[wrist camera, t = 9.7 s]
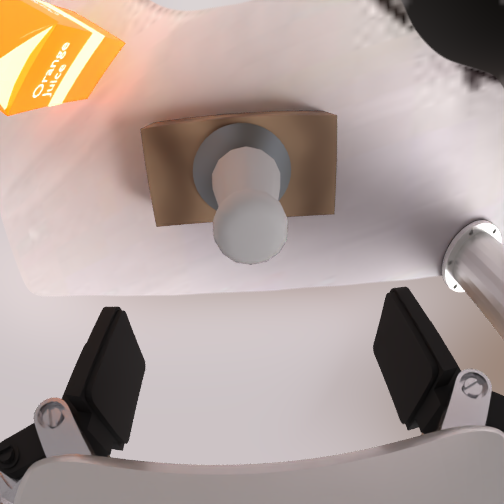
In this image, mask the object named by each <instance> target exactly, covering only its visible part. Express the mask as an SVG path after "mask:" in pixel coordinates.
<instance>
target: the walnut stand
mask: <svg viewBox="0 0 504 504" xmlns="http://www.w3.org/2000/svg"><path fill="white" fill-rule="evenodd" d="M141 137H142V144H143V151H144V158H145V164H146V171H147V177H148V183H149V189H150V194H151V200H152V205H153V211H154V216H155V221H156V226H157V227H159V226H170V225H181V224H193V223H206V222H213V219H214V216H215V214H216V211H217V209H218V207H219V206H218V203H217V200H216V197H215V195H214V192H213V187H212V173H213V171H214V169H215V166H216V164H217V162H218V160H219V159H220V158H222V157H223V156H224V155H225V154H227V153H228V152H229V151H230V150H233V149H237V148H241V147H251V148H256V149H260V150H262V151H264V152H265V153H266V154H268V155H269V156H270V157H271V158H273V159H274V160H275V162H276V164H277V167H278V169H279V171H280V192H279V198H278V201H279V202H280V204H281V205H282V208H283V210H284V212H285V214H286V216H287V217H292V216H310V215H329V214H334V211H335V191H336V162H337V115H334V114H331V113H328V112H325V111H272V112H251V113H235V114H222V115H211V116H201V117H192V118H184V119H176V120H169V121H162V122H155V123H152V124H150V125H148V126H146V127H144V128H142V129H141Z"/></svg>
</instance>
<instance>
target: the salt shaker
mask: <svg viewBox="0 0 504 504" xmlns="http://www.w3.org/2000/svg"><path fill="white" fill-rule="evenodd" d="M212 187H213V192H214V195H215V197H216V200H217V203H218V206H219V207H218V209H217V211H216V214H215V216H214V219H213V232H214V239H215V242H216V244H217V245H218V247H219V248H220V250H221V252H222V253H223V254H224V255H226V256H227V257H229V258H230V259H232V260H233V261H235V262H238V263H244V264H250V265H252V264H257V263H262V262H267V261H268V260H269V259H271V258H272V257H274V256H275V255H276V254H278V253H279V252H280V250H281V249H282V247H283V245H284V244H285V242H286V241H287V229H288V219H287V216H286V214H285V212H284V210H283V208H282V205H281V204H280V202H279V201H278V198H279V192H280V171H279V169H278V167H277V164H276V162H275V160H274V159H273V158H271V157H270V156H269V155H268V154H266V153H265V152H264V151H262V150H260V149H256V148H251V147H241V148H237V149H233V150H230V151H229V152H228V153H227V154H225V155H224V156H223V157H222V158H220V159H219V160H218V162H217V164H216V166H215V169H214V171H213V173H212Z"/></svg>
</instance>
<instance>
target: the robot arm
mask: <svg viewBox="0 0 504 504" xmlns="http://www.w3.org/2000/svg"><path fill="white" fill-rule="evenodd" d="M442 276H443V279H444V281H445V283H446V284H447V286H448V287H449V288H450V289H451V290H453V291H456V292H466V293H467V295H468V296H469V297H470V298H471V299H472V301H473V302H474V303H475V304H476V305H477V307H478V308H479V309H480V311H481V312H482V313H483V314H484V316H485V317H486V318H487V319H488V321H489V322H490V323H491V324H492V326H493V327H494V329H495V330H496V331H497V332H498V334H499V335H500V336H501V338H502V339H503V341H504V245H503V244H502V240H501V234H500V231H499V230H498V228H497V227H496V226H495V225H494V224H492V223H491V222H489V221H486V220H479V221H475V222H473V223H471V224H469V225H467V226H466V227H465V228H463V229H462V230H461V231H460V232H459V233H458V234H457V235H456V236H455V238H454V239H453V240H452V242H451V244H450V245H449V247H448V249H447V251H446V253H445V256H444V260H443V265H442ZM373 351H374V355H375V357H376V359H377V362H378V364H379V367H380V369H381V372H382V374H383V377H384V379H385V382H386V384H387V387H388V389H389V392H390V395H391V397H392V400H393V402H394V405H395V408H396V410H397V413H398V416H399V418H400V421H401V422H402V423H403V424H406V427H407V430H411V429H415V428H417V427H419V428H420V431H421V432H422V434H421V435H420V436H417V437H413V438H410V439H406V440H402V441H398V442H395V443H390V444H386V445H382V446H378V447H374V448H369V449H365V450H360V451H355V452H350V453H344V454H339V455H333V456H327V457H320V458H313V459H306V460H297V461H288V462H278V463H263V464H244V465H188V464H170V463H155V462H145V461H135V460H126V459H118V458H111V457H110V454H111V449H115V450H123V447H124V443H126V444H127V443H128V441H129V437H130V432H131V428H132V423H133V419H134V414H135V410H136V405H137V401H138V396H139V392H140V388H141V384H142V380H143V376H144V372H145V360H144V358H143V355H142V353H141V350H140V348H139V346H138V343H137V341H136V338H135V335H134V333H133V330H132V328H131V325H130V322H129V320H128V317H127V314H126V312H125V311H122V310H121V309H120V307H104V308H103V310H102V312H101V313H100V316H99V318H98V320H97V322H96V324H95V326H94V328H93V330H92V332H91V335H90V337H89V339H88V341H87V343H86V344H85V346H84V348H83V350H82V352H81V354H80V357H79V359H78V361H77V363H76V366H75V368H74V370H73V373H72V375H71V378H70V380H69V382H68V385H67V387H66V390H65V392H64V395H63V397H62V399H59V398H50V399H47V400H45V401H43V402H42V403H40V405H39V406H38V407H37V409H36V411H35V413H34V423H33V424H31V425H30V426H28V427H26V428H25V429H23V430H21V431H19V432H18V433H16V434H14V435H12V436H11V437H9V438H7V439H5V440H4V441H2V442H1V443H0V504H504V396H503V395H500V394H498V393H495V392H493V391H492V388H491V387H492V386H491V382H490V380H489V379H488V377H487V376H486V375H485V374H484V373H483V372H481V371H479V370H476V369H466V370H463V371H461V370H460V368H459V367H458V365H457V363H456V361H455V360H454V358H453V356H452V355H451V353H450V351H449V350H448V348H447V346H446V345H445V343H444V342H443V340H442V338H441V337H440V335H439V333H438V332H437V330H436V329H435V327H434V325H433V324H432V322H431V321H430V320H429V318H428V317H427V315H426V314H425V312H424V311H423V309H422V308H421V306H420V305H419V303H418V302H417V300H416V299H415V297H414V296H413V294H412V293H411V291H410V290H409V289H408V288H407V287H400V288H393V289H391V291H390V293H387V295H386V298H385V302H384V306H383V310H382V315H381V319H380V322H379V326H378V330H377V334H376V337H375V341H374V345H373Z"/></svg>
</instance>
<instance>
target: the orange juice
mask: <svg viewBox="0 0 504 504" xmlns="http://www.w3.org/2000/svg"><path fill="white" fill-rule="evenodd" d="M125 44H126V43H125V42H123V41H122V40H120V39H118V38H117V37H115V36H114V35H112V34H110V33H109V32H107V31H106V30H104V29H102V28H101V27H99V26H97V25H96V24H94V23H92V22H91V21H89V20H87V19H86V18H84V17H82V16H80V15H79V14H77V13H75V12H73V11H70V10H67V9H64V8H61V7H58V6H54V5H51V4H49V3H46V2H43V1H39V0H0V111H2V112H3V113H4V114H5V115H7V116H10V115H14V114H17V113H21V112H25V111H29V110H33V109H38V108H42V107H46V106H47V107H49V106H54V105H59V104H62V103H66V102H71V101H77V100H83V99H88V97H89V95H90V94H91V92H92V91H93V89H94V87H95V86H96V84H97V83H98V81H99V80H100V78H101V77H102V75H103V74H104V72H105V71H106V70H107V68H108V67H109V65H110V64H111V62H112V61H113V60H114V58H115V57H116V56H117V54H118V53H119V51H120V50H121V49H122V47H123V46H124V45H125Z"/></svg>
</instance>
